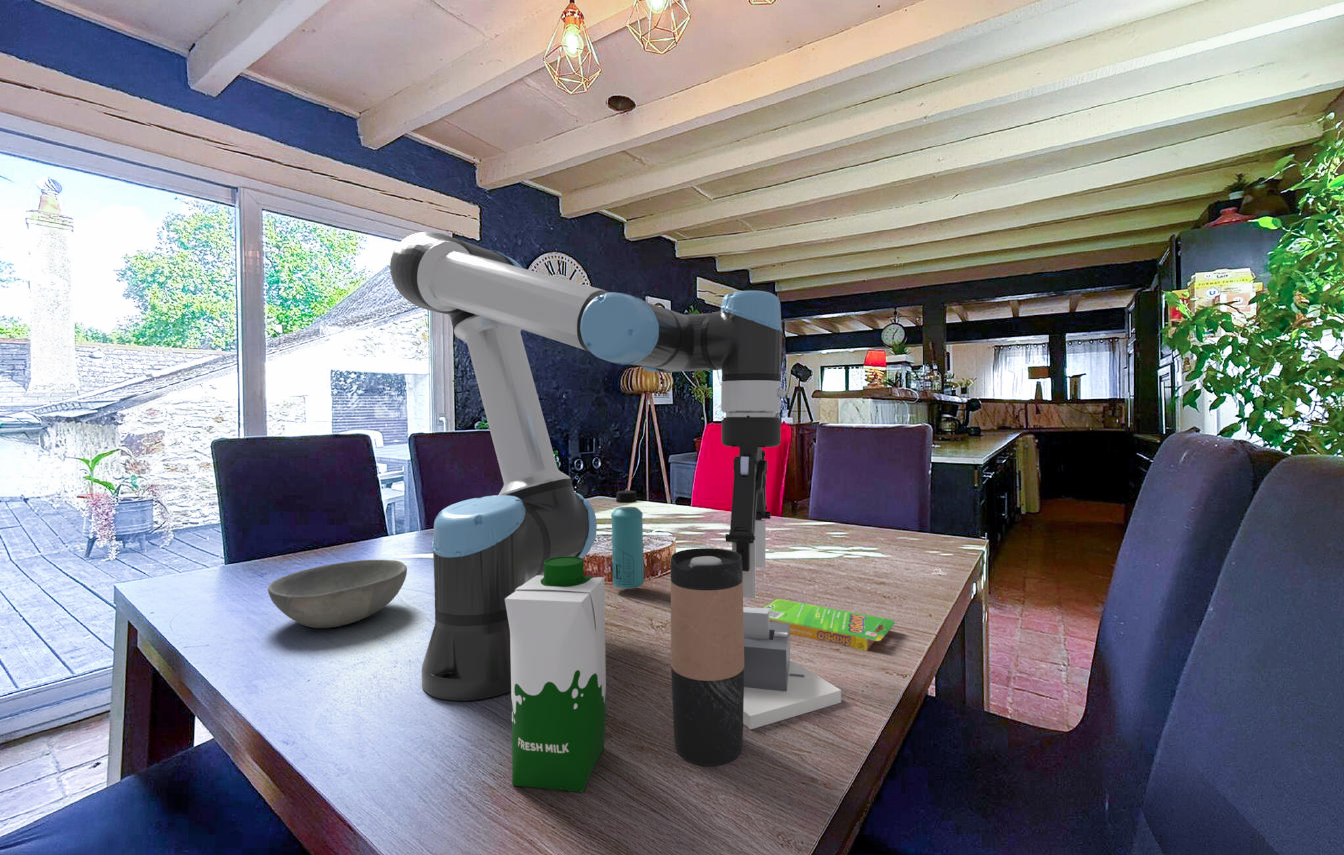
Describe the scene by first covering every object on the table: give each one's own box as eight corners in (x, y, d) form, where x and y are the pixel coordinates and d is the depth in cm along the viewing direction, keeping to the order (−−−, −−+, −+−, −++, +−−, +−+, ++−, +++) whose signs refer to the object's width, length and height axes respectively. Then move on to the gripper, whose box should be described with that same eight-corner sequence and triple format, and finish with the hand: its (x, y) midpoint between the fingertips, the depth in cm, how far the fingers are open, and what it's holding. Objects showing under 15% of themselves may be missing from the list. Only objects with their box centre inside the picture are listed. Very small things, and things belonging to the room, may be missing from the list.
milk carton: (614, 744, 61) (611, 556, 60) (588, 801, 52) (585, 580, 51) (535, 737, 62) (532, 554, 62) (497, 792, 53) (493, 577, 53)
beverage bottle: (651, 589, 115) (649, 489, 114) (631, 598, 109) (630, 493, 109) (625, 584, 118) (623, 487, 118) (604, 593, 113) (603, 491, 112)
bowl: (403, 631, 94) (402, 582, 94) (250, 652, 86) (249, 599, 86) (410, 594, 114) (409, 554, 113) (286, 608, 106) (285, 565, 106)
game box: (777, 615, 102) (897, 633, 91) (752, 633, 94) (880, 655, 83) (776, 598, 102) (896, 613, 91) (751, 614, 94) (878, 634, 83)
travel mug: (739, 724, 64) (737, 547, 64) (750, 766, 56) (748, 564, 56) (670, 727, 64) (668, 548, 63) (673, 769, 56) (670, 566, 56)
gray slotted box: (712, 683, 71) (711, 641, 71) (723, 654, 79) (723, 616, 79) (786, 691, 69) (786, 647, 68) (790, 660, 77) (789, 621, 77)
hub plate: (750, 729, 63) (749, 643, 63) (677, 666, 79) (676, 598, 79) (841, 702, 69) (840, 623, 69) (755, 648, 85) (755, 584, 85)
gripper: (773, 416, 60) (772, 615, 61) (785, 415, 84) (784, 557, 85) (703, 416, 62) (703, 609, 63) (735, 414, 86) (734, 554, 87)
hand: (750, 580), depth 74 cm, fingers open, 13 cm apart
